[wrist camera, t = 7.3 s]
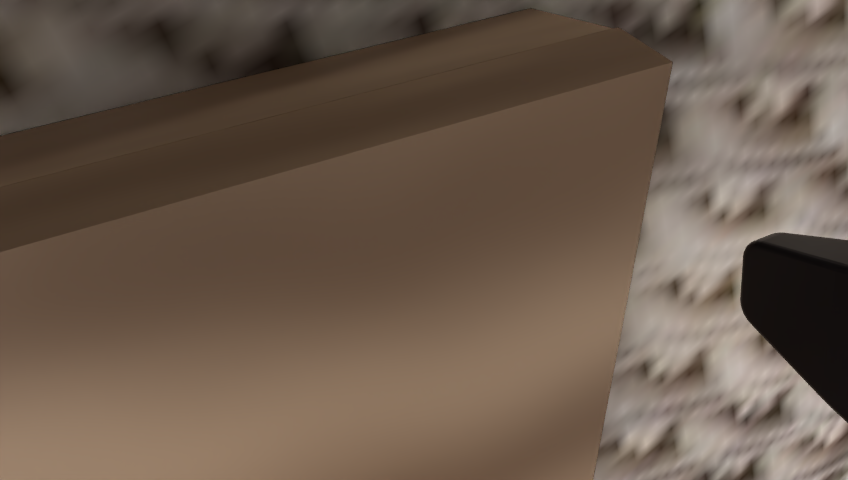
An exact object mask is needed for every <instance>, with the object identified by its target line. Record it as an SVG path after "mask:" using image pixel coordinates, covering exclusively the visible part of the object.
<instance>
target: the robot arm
mask: <svg viewBox="0 0 848 480" xmlns="http://www.w3.org/2000/svg"><path fill="white" fill-rule="evenodd" d="M740 302H741V307H742V310H743V313H744V315H745V317H746V318H747V320H748V321H749V322H750V323H751V324H752V325H753V326H754V328H755V329H756V330H757V331H758V332H759V333H760V334H761V335H762V336H763V337H764V338H765V339H766V340H767V341H768V342H769V343H770V344H771V345H772V346H773V347H774V348H775V350H776V351H777V352H778V353H779V354H780V355H781V356H782V357H783V358H784V359H785V360H786V361H787V362H788V363H789V364H790V365H791V366H792V367H793V368H794V369H795V371H796V372H797V373H798V374H799V375H800V376H801V377H802V378H803V379H804V380H805V381H806V382H807V383H808V384H809V385H810V386H811V387H812V388H813V389H814V390H815V391H816V393H817V394H818V395H819V396H820V397H821V398H822V399H823V400H824V401H825V402H826V403H827V404H828V405H829V406H830V407H831V408H832V409H833V410H834V411H835V412H836V413H837V414H839V415H840V416H841V417H842V418H843V419H844V420H845V421H846V422H847V423H848V240H841V239H833V238H824V237H815V236H807V235H798V234H790V233H774V234H771V235H768V236H766V237H763V238H760V239H758V240H755V241H753V242H751V243H750V244H749V245H748V246H747V247H746V249H745V251H744V255H743V266H742V282H741V297H740Z"/></svg>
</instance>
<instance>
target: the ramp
mask: <svg viewBox="0 0 848 480" xmlns="http://www.w3.org/2000/svg"><path fill="white" fill-rule="evenodd" d="M672 64H673V62H672V61H670V60H669V59H667V58H666V57H664V56H663V55H661V54H660V53H658V52H656V51H655V50H653V49H652V48H650V47H649V46H647V45H646V44H644V43H643V42H641V41H639V40H638V39H636V38H635V37H633V36H632V35H630V34H629V33H627V32H625V31H624V30H622V29H621V28H619V27H617V28H610V27H606V26H601V25H597V24H593V23H589V22H585V21H581V20H577V19H573V18H569V17H564V16H560V15H556V14H552V13H548V12H544V11H540V10H536V9H532V8H530V9H526V10H522V11H517V12H513V13H509V14H505V15H501V16H497V17H492V18H488V19H484V20H480V21H476V22H472V23H468V24H463V25H459V26H455V27H451V28H447V29H443V30H438V31H434V32H430V33H426V34H422V35H418V36H414V37H409V38H405V39H401V40H397V41H393V42H389V43H384V44H380V45H376V46H372V47H368V48H364V49H360V50H355V51H351V52H347V53H343V54H339V55H335V56H330V57H326V58H322V59H318V60H314V61H310V62H306V63H301V64H297V65H293V66H289V67H285V68H281V69H276V70H272V71H268V72H264V73H260V74H256V75H252V76H247V77H243V78H239V79H235V80H231V81H227V82H222V83H218V84H214V85H210V86H206V87H202V88H198V89H193V90H189V91H185V92H181V93H177V94H173V95H168V96H164V97H160V98H156V99H152V100H148V101H144V102H139V103H135V104H131V105H127V106H123V107H119V108H114V109H110V110H106V111H102V112H98V113H94V114H90V115H85V116H81V117H77V118H73V119H69V120H65V121H60V122H56V123H52V124H48V125H44V126H40V127H36V128H31V129H27V130H23V131H19V132H15V133H11V134H6V135H2V136H0V480H593V477H594V472H595V466H596V461H597V456H598V451H599V445H600V440H601V435H602V430H603V424H604V419H605V414H606V409H607V404H608V398H609V393H610V388H611V383H612V377H613V372H614V367H615V362H616V356H617V351H618V346H619V341H620V336H621V330H622V325H623V320H624V315H625V309H626V304H627V299H628V294H629V288H630V283H631V278H632V273H633V268H634V262H635V257H636V252H637V247H638V241H639V236H640V231H641V226H642V221H643V215H644V210H645V205H646V200H647V194H648V189H649V184H650V179H651V173H652V168H653V163H654V158H655V153H656V147H657V142H658V137H659V132H660V126H661V121H662V116H663V111H664V105H665V100H666V95H667V90H668V85H669V79H670V74H671V69H672Z"/></svg>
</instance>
